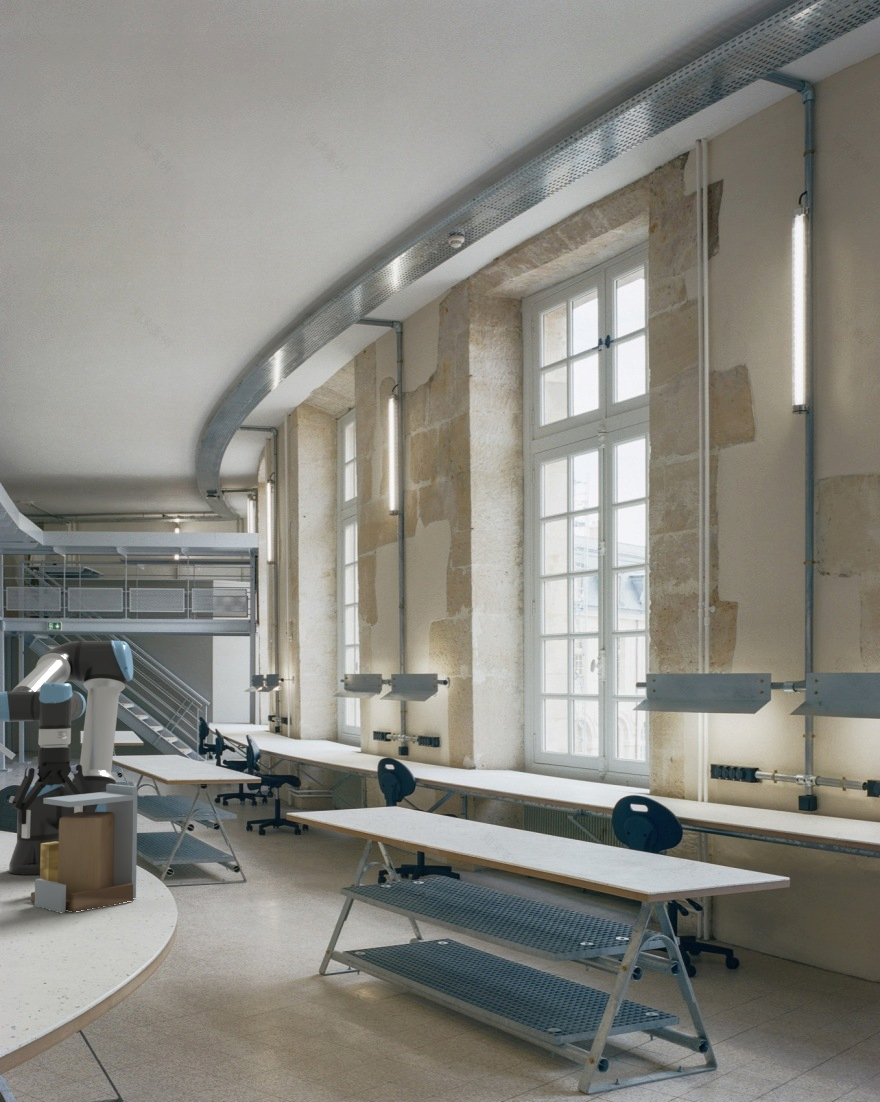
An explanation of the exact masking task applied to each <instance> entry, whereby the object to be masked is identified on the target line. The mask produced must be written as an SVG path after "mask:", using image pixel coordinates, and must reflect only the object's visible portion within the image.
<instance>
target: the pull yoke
mask: <svg viewBox="0 0 880 1102" xmlns="http://www.w3.org/2000/svg"><path fill="white" fill-rule="evenodd" d="M58 851H59V842H57V841H55V842H48V843H41V854H40V874H39V879H44V880H48V881H52V882H56V883H58ZM31 901H33V902H32V903H35V891H32V892H31V893H30V902H31ZM127 901H133V902H134V900H133V884H130V883H129V884H123V885H118V886H112V887H106V888H100V889H95V890H89V891H83V892H77V893H72V894H71V901H70V900H66V910H68V911H72V912H76V911H81V910H87V909H92V908H97V909H99V908H98V907H103V906H108V907H110V906H109V905H113V906H115V905H114V904H119V903H123V902H127ZM119 905H120V904H119ZM103 908H104V907H103ZM92 910H93V909H92ZM68 911H67V912H68ZM87 911H88V910H87ZM72 912H71V913H72ZM81 912H82V911H81ZM76 913H77V912H76Z"/></svg>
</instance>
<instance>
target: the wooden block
mask: <svg viewBox="0 0 880 1102" xmlns="http://www.w3.org/2000/svg"><path fill="white" fill-rule="evenodd" d="M114 823H115V815H114V813H112V812H76V813H73V814H70V815H66V816H63V817H61V818H60V820H59V851H58V883H60V884H65V885H66V900H70V901H71V894H72V893H77V892H83V891H89V890H95V889H100V888H106V887H112V886H114Z"/></svg>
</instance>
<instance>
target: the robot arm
mask: <svg viewBox="0 0 880 1102" xmlns="http://www.w3.org/2000/svg"><path fill="white" fill-rule="evenodd" d="M132 654H133V653H132V650H131V647H130V645H129V644H128V642H126V641H123V640H113V639H111V640H84V641H81V640H74V641H69V642H66V643H63V644H61V645H57V646H56V647H54V648H52V649H50V650H49V651H47V652H46V653H45V654H43V655H42V656H41V657H40V658H39V659H38V661H37V663H36V664H35V668H33V670H31V671H30V672H29V674H28V675H26V676H25V677H24V678H23V679H22V680H21V681H19V683H18V684H17V685H16V686H15V687H13V689H12V690H11V691H7V690H6V691H0V722H7V723H11V722H13V723H14V722H15V723H16V722H38V739H37V741H38V745H39V746H40V747H39V748H38V750H37V763H38V766H37V768H34V767H26V768H25V769H24V776H23V779H22V781H21V784H19V787H18V788H17V792H16V793H15V796H14V798H13V800H12V801H11V803H10V807H11V808H12V809H17V811H16V812H17V814H16V815H17V816H16V817H17V819H16V821H17V823H16V825H17V826H16V830H17V831H16V844H15V847H14V850H13V853H12V855H11V858H10V861H9V865H8V872H9V873H10V874H12V873H13V874H14V875H24V876H25V875H26V876H27V875H28V876H29V875H40V854H41V843H48V842H55V841H57V842H59V820H60V818H61V817H63V816H66V815H70V814H73V813H76V812H106V803H103V804H94V805H85V806H76V807H64V806H58V805H51V804H44V803H43V798H50V797H60V796H69V795H79V794H89V793H98V792H106V784H117V780H116V778H115V777H114V776H113V774H112V766H113V757H114V750H115V749H114V748H115V740H116V739H115V737H116V728H117V718H118V708H119V699H120V693H121V692H123V690H125V689H126V684H127V682H130V681H132V680H133V677H134V662H133V660H134V659H133V655H132ZM68 682H83V683H82V684H83V687H84V688H85V689H86V690H87V696H86V697H87V698H86V699H85V696H84V695H83V694H81V692H79V691H76V690H73V687H72V684H71V683H68ZM83 714H84V715H85V716H84V724H83V736H82V744H81V751H80V752H81V753H80V761H79V764H76V763H75V764H73V765H71V764H70V762H71V748H70V746H69V745H70V744H71V742H72V741H71V739H72V721H74V720H76V719H78V718H81V717H82V715H83ZM70 773H71V774H72V775H73V778H72V779H71V778H70V777H69V775H70ZM36 776H38V778H37V780H36V781H35V782H34V781H33V780H34V778H35V777H36ZM33 782H34V784H32V783H33Z"/></svg>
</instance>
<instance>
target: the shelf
mask: <svg viewBox="0 0 880 1102" xmlns="http://www.w3.org/2000/svg"><path fill="white" fill-rule="evenodd" d="M43 803H44V804H51V805H58V806H64V807H76V806H85V805H94V804H103V803H106V812H112V813H114V815H115V823H114V886H118V885H123V884H129V883H130V884H133V898H136V899H137V859H138V857H137V856H138V854H137V853H138V852H137V851H138V850H137V848H138V847H137V846H138V845H137V843H138V786H133V785H124V784H117V783H116V784H106V792H98V793H89V794H79V795H69V796H60V797H50V798H43ZM34 892H35V902H34V907H36V906H38V907H37V908H40V907H42V908H41V909H44V908H46V909H45V910H47V909H50V910H49V911H51V910H53V911H52V912H54V911H58V912H65V911H66V885H65V884H60V883H56V882H52V881H48V880H44V879H40V878H35V879H34ZM58 912H57V913H58ZM66 912H67V911H66ZM66 912H65V913H66Z"/></svg>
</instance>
